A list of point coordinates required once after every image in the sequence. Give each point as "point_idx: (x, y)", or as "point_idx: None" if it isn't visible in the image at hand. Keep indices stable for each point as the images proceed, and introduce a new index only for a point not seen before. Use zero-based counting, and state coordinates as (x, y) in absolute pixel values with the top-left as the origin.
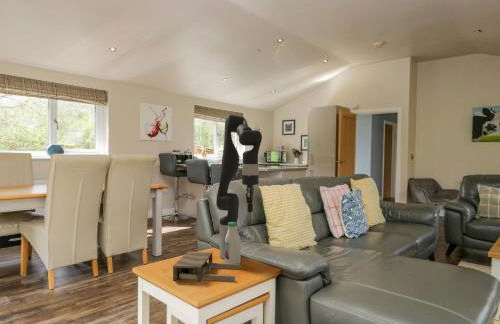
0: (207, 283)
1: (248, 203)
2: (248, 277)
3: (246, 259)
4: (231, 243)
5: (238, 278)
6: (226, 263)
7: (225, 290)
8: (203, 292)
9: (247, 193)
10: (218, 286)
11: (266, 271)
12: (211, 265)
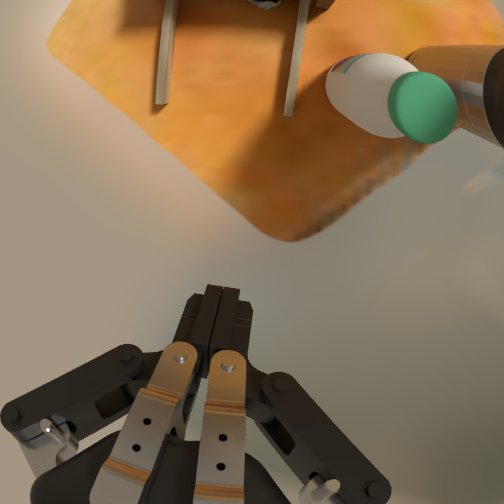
0: (141, 23)
1: (153, 353)
2: (197, 143)
3: (394, 145)
4: (341, 84)
5: (186, 111)
6: (300, 61)
7: (97, 88)
8: (83, 35)
9: (9, 428)
10: (120, 61)
11: (256, 204)
12: (266, 5)
